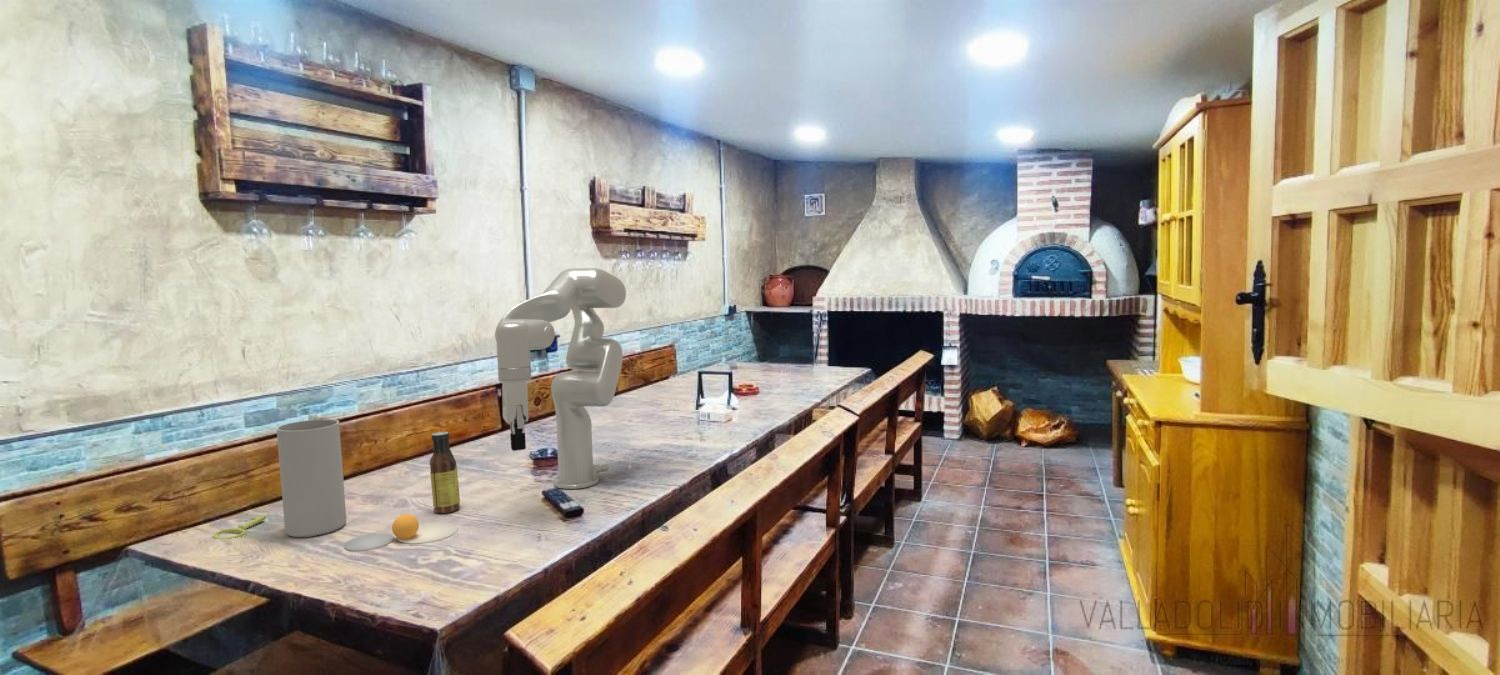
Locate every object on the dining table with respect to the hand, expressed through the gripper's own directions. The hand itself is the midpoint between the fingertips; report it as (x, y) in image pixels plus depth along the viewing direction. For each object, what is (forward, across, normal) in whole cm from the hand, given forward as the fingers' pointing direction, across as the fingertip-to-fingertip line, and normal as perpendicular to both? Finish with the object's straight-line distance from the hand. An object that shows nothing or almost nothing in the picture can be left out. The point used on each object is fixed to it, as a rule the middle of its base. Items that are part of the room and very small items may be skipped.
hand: (518, 449), depth 175 cm
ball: (+14, +1, -26) cm, 29 cm away
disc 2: (+17, 0, -21) cm, 27 cm away
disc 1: (+17, 0, -33) cm, 37 cm away
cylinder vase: (+17, -16, -45) cm, 50 cm away
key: (+18, -23, -61) cm, 67 cm away
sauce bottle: (+17, -15, -16) cm, 28 cm away
